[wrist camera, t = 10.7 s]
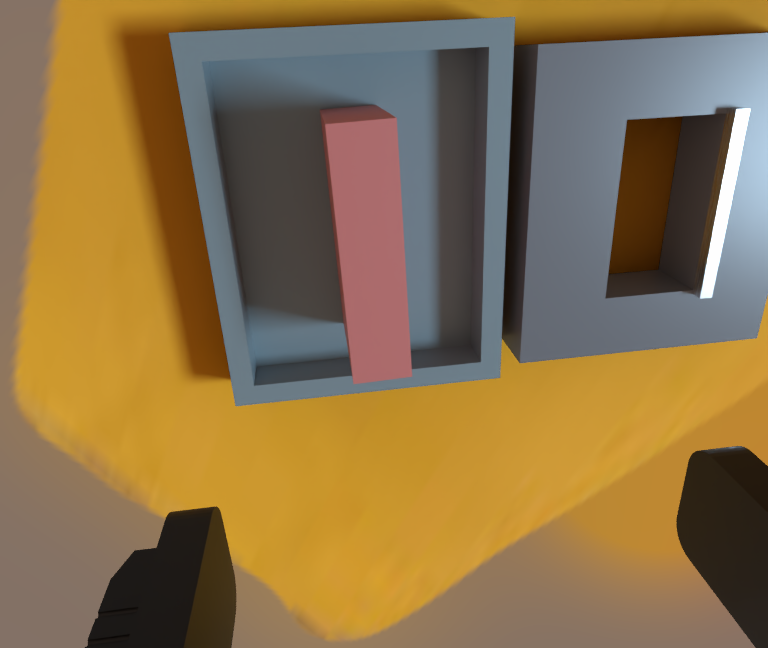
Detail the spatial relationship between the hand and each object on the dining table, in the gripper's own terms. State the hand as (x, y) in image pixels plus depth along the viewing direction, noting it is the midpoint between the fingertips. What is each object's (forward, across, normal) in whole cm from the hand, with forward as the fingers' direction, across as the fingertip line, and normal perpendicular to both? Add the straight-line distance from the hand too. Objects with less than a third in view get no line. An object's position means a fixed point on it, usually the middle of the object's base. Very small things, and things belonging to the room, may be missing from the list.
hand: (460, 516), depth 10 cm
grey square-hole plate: (+20, -13, 0) cm, 24 cm away
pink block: (+16, 0, +5) cm, 17 cm away
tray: (+20, 0, 0) cm, 20 cm away
